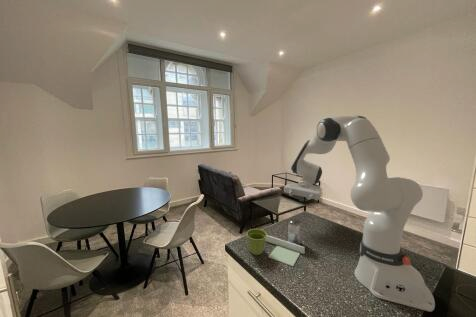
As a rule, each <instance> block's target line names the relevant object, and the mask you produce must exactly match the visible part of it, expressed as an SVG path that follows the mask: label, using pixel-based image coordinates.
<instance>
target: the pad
mask: <svg viewBox="0 0 476 317" xmlns="http://www.w3.org/2000/svg"><path fill="white" fill-rule="evenodd" d="M300 254H301V253H299V252H296V251H294V250H291V249H288V248H285V247H282V246H279V245H276V246H275V248H274V249H273V250H272V251H271V253H270V254H269V255H268V258H269V259H271V260H274V261H277V262H280V263H282V264H285V265H288V266H289V267H294V265H295V264H296V262H297V260H298V258H299V256H300Z"/></svg>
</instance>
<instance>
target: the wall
mask: <svg viewBox="0 0 476 317" xmlns="http://www.w3.org/2000/svg"><path fill="white" fill-rule="evenodd" d="M265 242H268V243H270V244H273V245H276V246H280V247H283V248H286V249H289V250H292V251H295V252H298V253H300V254H302V255H305V252H306V250H305V246H303V245H300V244H299V245H297V244H294V243H290V242H288V240H284V239H280V238H278V237H275V236H271V235H268V234H267V237H266V239H265Z"/></svg>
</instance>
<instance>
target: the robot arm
mask: <svg viewBox="0 0 476 317" xmlns="http://www.w3.org/2000/svg"><path fill="white" fill-rule="evenodd" d="M313 136H314V137H313V138H312V139H309V140H307V141H306V142H304V145H303V146H302V148H301V149H300V152H299V153H298V154H297V156H296V158H295V159H294V160H293V162H292V164H291V166H290V170H291V172H292V173H293V174H296V175H299V176H301V177H302V178H301V179H300V181H298V183H297V184H293V183H287V184H286V185H284V187H283V193H285V194H289V195H288V196H290V197H292V196H293V195H295V196H298V197H304V198H306V199H307V201H308V200H309V201H310V200H311V199H314V200H321V197H322V196H321V195H322V189H321V185H319V184H318V183H319V182H320V179H321V177H322V176H323V169H322V167H321V166H320V165H318V164H314V163H312V162H309V161H307V160H305V157H306V155H308V154H313V155H326V154H329V153H331V151H332V150H333V149H334V147H335V145H336V143H337V142H341V141H342V142H346V144H347V148H348V150H349V153H350V155H351V158H352V160H353V164H354V167H355V172H356V173H355V174H356V176H355V182H354V184H353V185H352V187H351V189H350V199H351V202H352V203H353V205H354V206H355V207H356V208H357V209H358V210H360V211H364V212H371V213H370V214H369V215H368V216H367V217H366V218H365V220H364V222H363V232H362V233H363V234H362V239H361V240H360V246H359V255H360V256H359V260H358V262H357V266H356V268H355V270H354V277H355V278H356V280H358V282H359V283H360V284H361V285H362V286H364V287H365V288H366V289H367V290H369V292H370V293H371V294H372V295H373V296H374V297H376V298H378V299H382V300H385V301H387V302H393V303H396V304H400V305H404V306H407V307H410V308H415V309H417V310H418V309H419V310H422V311H426V312H430V313H431V312H433V311H434V310H435V307H436V302H435V297H434V295H433V294H432V291H431V290H430V288H429V287H427V285H426V283H425V280H424V278H423V276H422V274H421V272H420V271H418V270H417V269H416V268H415V267H414V266H413V265H411V259H410V258H409V257H408V255H407V254H408V253H406V251H405V250H404V248H401V245H402V238H403V231H404V228H405V226H406V224H407V222H408V219H409V218H410V215H411V214H412V211H413V210H414V208H415V207H416V205H418V204H419V202H421V200H422V199H423V194H424V193H423V190H422V187H421V186H420V183H419V184H418V182H416V181H415V180H412V179H410V178H406V177H400V176H399V177H398V176H396V177H395V176H394V177H388V173H387V165H388V164H389V163H390V154H389V153H388V151H387V148H386V147H385V143H384V142H383V140H382V138H381V136H380V134H379V131H378V130H377V129H376V127H375V126H374V125H373V123H372V122H371V121H370V119H368V118H367V117H365V116H363V115H345V116H344V115H341V116H340V115H339V116H334V117H326V118H323V119H321V120H320V121H319V122H318V124H317V126H316V132H315V134H314V135H313Z"/></svg>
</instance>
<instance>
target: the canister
mask: <svg viewBox="0 0 476 317" xmlns="http://www.w3.org/2000/svg"><path fill="white" fill-rule="evenodd" d="M287 222H288V226H287V228H288V230H287V242H290V243H294V244H297V245H300V238H301V237H300V236H301V221H300V220H299V219H296V218H290V219H288V221H287Z"/></svg>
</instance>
